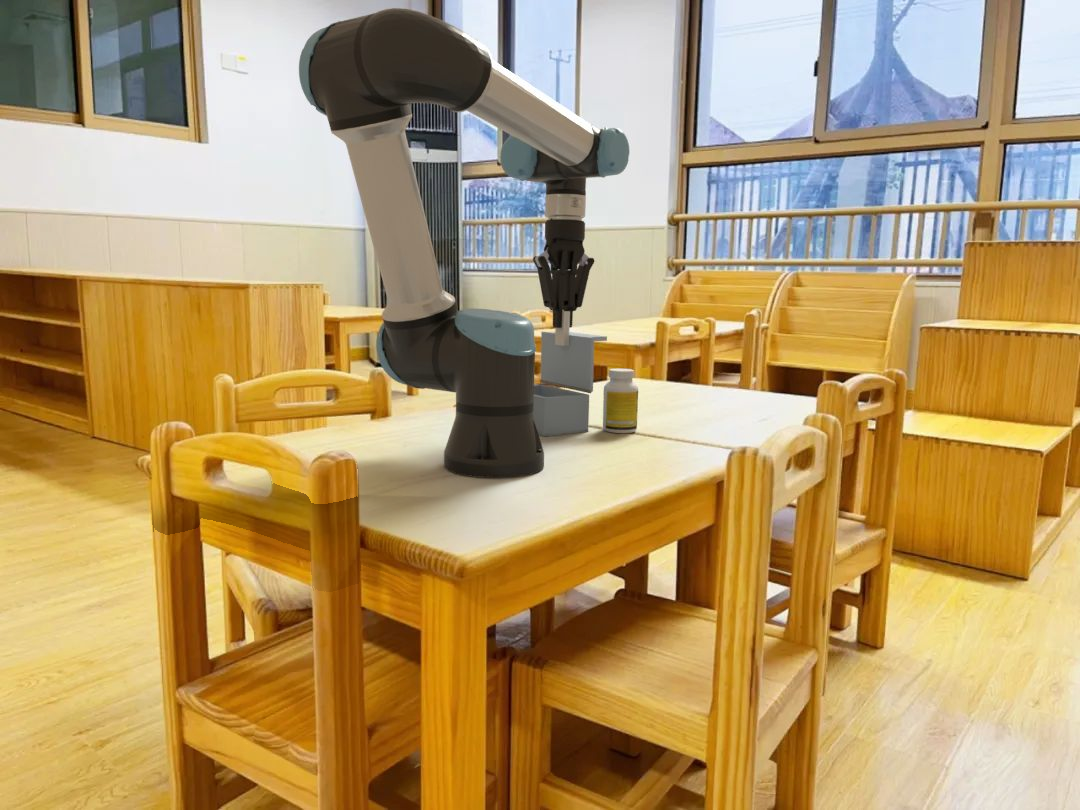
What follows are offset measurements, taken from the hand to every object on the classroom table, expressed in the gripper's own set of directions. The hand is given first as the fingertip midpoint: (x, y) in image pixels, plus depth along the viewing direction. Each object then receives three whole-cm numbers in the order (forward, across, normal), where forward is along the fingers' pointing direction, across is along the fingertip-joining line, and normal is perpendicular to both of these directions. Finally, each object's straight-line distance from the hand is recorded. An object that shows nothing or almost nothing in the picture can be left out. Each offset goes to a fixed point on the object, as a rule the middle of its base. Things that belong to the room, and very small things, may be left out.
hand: (562, 344), depth 156 cm
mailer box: (+16, -4, 0) cm, 16 cm away
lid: (+3, 0, 0) cm, 3 cm away
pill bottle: (+16, +6, -10) cm, 20 cm away
